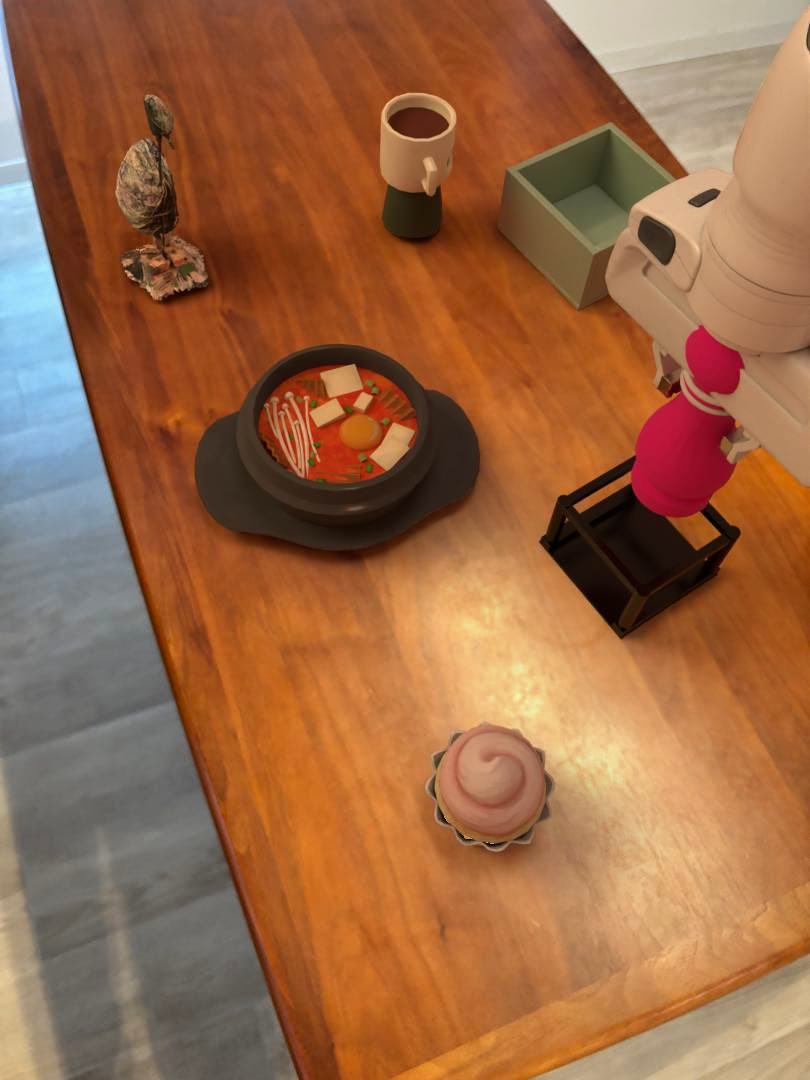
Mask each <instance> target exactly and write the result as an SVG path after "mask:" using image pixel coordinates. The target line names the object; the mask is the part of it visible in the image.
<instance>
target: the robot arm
mask: <svg viewBox="0 0 810 1080" xmlns="http://www.w3.org/2000/svg"><path fill="white" fill-rule="evenodd" d="M731 171H732V173H731V174H729V173H727V172H725V171H722V170H720V169H717V168H711V167H708V168H705V169H702V170H699V171H696V172H693V173H691V174H689V175H685V176H683V177H682V178H679V179H676V180H677V181H675V182H672V183H670V184H668V185H666V186H664V187H662V188H661V189H659V190H657V191H655V192H653V193H652V194H650V195H648V196H647V197H645V198H644V199H642V200H641V201H639V202H638V203H636V204H635V205H634V206H633V207H632V209H631V211H630V214H629V219H628V226H629V227H628V228H626V229H625V230H624V231H623V232H622V233H621V234H620V236H619V238H618V240H617V242H616V244H615V246H614V249H613V251H612V254H611V257H610V260H609V263H608V266H607V270H606V275H605V280H606V284H607V288H608V291H609V296H610V298H611V299H612V300H613V301H614V302H615V303H616V304H617V305H619V306H620V307H621V308H622V310H623V311H624V312H625V313H626V314H627V315H628V316H630V317H631V318H632V319H633V320H634V322H635V323H637V324H638V325H639V326H640V328H642V329H643V330H644V332H646V333H647V334H648V335H649V336H650V337H651V338H652V339H653V340H652V343H651V347H652V352H653V357H654V362H655V368H656V374H655V377H654V379H653V382H652V385H653V386H654V387H655V388H656V389H657V390H658V391H659V392H660V393H661V394H662V395H663V396H664V397H665V398H666V399H670V398H671V397H673V396H674V394H675V395H676V394H677V395H678V394H679V393H680V392H681V390H682V388H681V385H680V375H681V372H682V369H684V370H685V371H687V372H688V373H689V374H690V375H691V376H692V377H694V376H693V374H692V373H691V371H690V369H689V368H688V364H687V361H686V357H685V345H686V341H687V339H688V337H689V336H690V334H691V333H692V332H693V331H695V330H698V328H699V325H703V326H704V327H705V329H706V330H707V331H708V332H709V333H710V335H711V336H712V337H714V338H715V339H716V340H717V341H719V342H720V343H721V344H723V345H725V346H727V347H729V348H731V349H733V350H736V351H738V352H739V353H740V355H741V357H742V360H743V363H744V366H745V369H740V382H739V385H738V387H737V389H736V390H735V392H734V393H732V394H729V395H724V394H719V393H717V392H711V393H710V395H711V396H712V397H713V398H714V399H715V400H716V401H717V402H718V403H719V404H720V405H721V406H722V407H723V408H724V409H725V410H726V411H727V412H728V413H729V414H730V415H731V416H732V417H733V418H734V419H735V420H736V422H737V423H738V424H739V426H738V427H736V429H735V431H734V432H730V433H728V434H726V435H725V436H723V438H722V440H721V442H720V443H721V444H720V445H719V446H718V447H717V450H718V451H719V452H720V453H721V454H722V455H723V456H724V457H725V458H726V459H727V460H728V461H729V462H730V463H731V464H734V463H736V462H737V463H738V462H740V461H741V460H742V459H744V458H745V457H747V456H748V455H749V454H750V453H751V452H752V451H755V450H759V449H760V448H761V447H762V448H763V449H764V450H765V451H766V452H767V453H768V454H769V455H770V456H771V457H772V458H773V459H775V460H776V462H777V463H778V464H779V465H780V466H782V467H783V469H784V470H785V471H786V472H788V473H789V474H790V475H791V477H793V478H794V480H796V482H797V483H798V484H800V485H801V486H802V487H804V488H805V489H810V3H809V4H808V5H807V6H806V8H805V9H804V11H803V12H802V13H801V15H800V16H799V17H798V19H797V20H796V21H795V23H794V25H793V26H792V28H791V29H790V31H789V33H788V34H787V36H786V37H785V39H784V40H783V42H782V44H781V46H780V48H779V49H778V51H777V53H776V54H775V57H774V58H773V60H772V62H771V64H770V66H769V67H768V70H767V72H766V73H765V76H764V78H763V79H762V82H761V84H760V86H759V88H758V90H757V93H756V94H755V97H754V99H753V101H752V104H751V106H750V108H749V111H748V114H747V115H746V117H745V120H744V123H743V126H742V128H741V131H740V133H739V135H738V138H737V140H736V144H735V147H734V152H733V155H732V169H731Z"/></svg>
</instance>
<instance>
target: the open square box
mask: <svg viewBox="0 0 810 1080" xmlns="http://www.w3.org/2000/svg"><path fill="white" fill-rule="evenodd" d="M503 179H504V180H503V185H502V192H501V199H500V205H499V211H498V216H497V221H496V222H497V223H496V228H497V230H498V231H499V232H500V233H501V234H502V235H503V236H504V237H505V238H506V239H507V241H509V242H510V243H511V244H512V245H513V246H514V247H515V248H516V249H517V250H518V251H519V252H520V253H521V254H522V255H523V256H524V257H525V259H527V260H528V261H529V262H530V264H532V265H533V267H535V269H537V270H538V271H539V273H540V274H542V276H543V277H545V279H546V280H547V281H549V283H550V284H551V285H552V286H553V287H554V288H555V289H556V290H557V291H558V292H559V293H560V294H561V295H562V296H563V297H564V298H565V299H566V300H567V301H568V302H569V303H570V304H571V305H572V306H573V307H574V308H575V309H576V310H577V311H581V310H582V309H584V308H586V307H588V306H590V305H592V304H593V303H596V302H598V301H599V300H601V299H603V298H605V297H607V296H610V294H609V291H608V288H607V284H606V280H605V275H606V270H607V266H608V263H609V260H610V257H611V254H612V251H613V249H614V246H615V244H616V242H617V240H618V238H619V236H620V234H621V233H622V232H623V231H624V230H625V229H626V228H628V227H629V226H628V219H629V214H630V211H631V209H632V207H633V206H634V205H635V204H636V203H638V202H639V201H641V200H642V199H644V198H645V197H647V196H648V195H650V194H652V193H653V192H655V191H657V190H659V189H661V188H662V187H664V186H666V185H668V184H670V183H672V182H675V181H677V180H678V179H677V178H675V177H674V176H673V175H672V174H671V173H669V171H668V170H666V169H665V168H664V167H663V166H662V165H660V164H659V163H658V162H657V161H656V160H655V159H654V158H652V156H650V155H649V154H648V153H647V152H646V151H645V150H644V149H642V148H641V147H640V146H639V145H638V144H637V143H636V142H634V141H633V140H632V139H631V138H630V136H628V135H627V134H625V133H624V132H623V131H622V130H621V129H620V128H619V127H618V126H616V125H615V123H613V122H612V121H610V122H607V123H605V124H603V125H601V126H598V127H596V128H593V129H592V130H590V131H587V132H585V133H583V134H581V135H578V136H577V137H574V138H572V139H570V140H568V141H565V142H563V143H560V144H559V145H556V146H554V147H551V148H549V149H548V150H545V151H543V152H540V153H539V154H536V155H534V156H532V157H530V158H527V159H525V160H523V161H521V162H519V163H515V164H514V165H512V166H510V167H507V168H506V169H505V173H504V178H503Z"/></svg>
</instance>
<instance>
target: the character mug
mask: <svg viewBox="0 0 810 1080" xmlns="http://www.w3.org/2000/svg"><path fill="white" fill-rule="evenodd" d="M456 129H457V113H456V110H455V109H454V108H453V106H452V105H451V104H450V103H449V102H448V101H447V100H444V99H443V98H441V97H439V96H437V95H435V94H429V93H425V92H407V93H403V94H400V95H396V96H395V97H393V98H392V99H391V100H389V101H388V102H387V103H386V104H385V106H384V107H383V109H382V111H381V116H380V145H379V167H380V175H381V176H382V178H383V179H384V181H386V184H387V188H386V192H385V196H384V202H383V206H382V213H381V220H382V223H383V227H385V229H386V230H387V231H389V232H390V233H391V234H392V235H394V236H399V237H401V238H405V239H423V238H427V237H431V236H434V235H435V234H436V233H437V232H438V231H439V230H440V229H441V226H442V223H443V197H442V187H441V186H442V184H443V183H444V182H445V181H446V180H448V178H449V177H450V174H452V173H451V172H452V171H453V170H452V169H453V148H454V145H455V142H456Z"/></svg>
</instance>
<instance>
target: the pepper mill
mask: <svg viewBox="0 0 810 1080" xmlns="http://www.w3.org/2000/svg"><path fill="white" fill-rule="evenodd" d="M685 357H686V361H687V364H688V368H689V369H690V371H691V373H692V374H693V376H694V377H692V376H691V375H690V374H689V373H688V372H687V371H685V370H684V369H682V372H681V375H680V385H681V388H682V390H681V391H680V392H679V393H677V395H676V396H675V397H674V398H672V399H671V400H669V401H668V402H667V403H664V404H663V405H661V406H660V407H659V408H658V409H656V410H655V411H654V412H653V413H652V414H651V415H650V416H649V417H648V418H647V420H646V421H645V423H643V426H642V427H641V429H640V431H639V434H638V435H637V438H636V443H635V449H634V450H635V455H636V461H635V463H634V466H633V468H632V471H631V472H630V483H631V484H632V488H633V491H634V493H635V495H636V497H637V498H638V499H639V500H640V502H641V503H642V504H643V505H644V506H645V507H647V508H648V509H650V510H651V511H653V512H654V513H657V514H660V515H662V516H665V517H666V518H672V519H681V518H683V519H684V518H687V517H692V516H694V515H696V514H698V513H701V512H700V511H701V510H703V509H704V508H705V507H706V505H707V504H708V503H710V501H711V499H712V498H713V496H714V494H715V493H717V492H718V491H719V490H721V489H722V488H723V487H724V486H725V485H726V484H727V483H729V480H731V478H732V476H733V474H734V472H735V469H736V467H737V465H738V462H736V463H734V464H731V463H730V462H729V461H728V460H727V459H726V458H725V457H724V456H723V455H722V454H721V453H720V452H719V451H718V450H717V447H718V446H719V445H720V444H721V443H720V442H721V440H722V438H723V436H725V435H726V434H728V433H730V432H734V431H735V429H736V428H737V425H736V422H737V421H736V420H735V419H734V418H733V417H732V416H731V415H730V414H729V413H728V412H727V411H726V410H725V409H724V408H723V407H722V406H721V405H720V404H719V403H718V402H717V401H716V400H715V399H714V398H713V397H712V396H711V395H710V393H711V392H717V393H719V394H724V395H729V394H732V393H734V392H735V390H736V389H737V387H738V385H739V382H740V369H745V366H744V363H743V360H742V357H741V355H740V353H739V352H738V351H736V350H733V349H731V348H729V347H727V346H725V345H723V344H721V343H720V342H719V341H717V340H716V339H715V338H714V337H712V336H711V335H710V333H709V332H708V331H707V330H706V329H705V327H704V326H703V325H699V328H698V330H695V331H693V332H692V333H691V334H690V336H689V337H688V339H687V341H686V345H685Z"/></svg>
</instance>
